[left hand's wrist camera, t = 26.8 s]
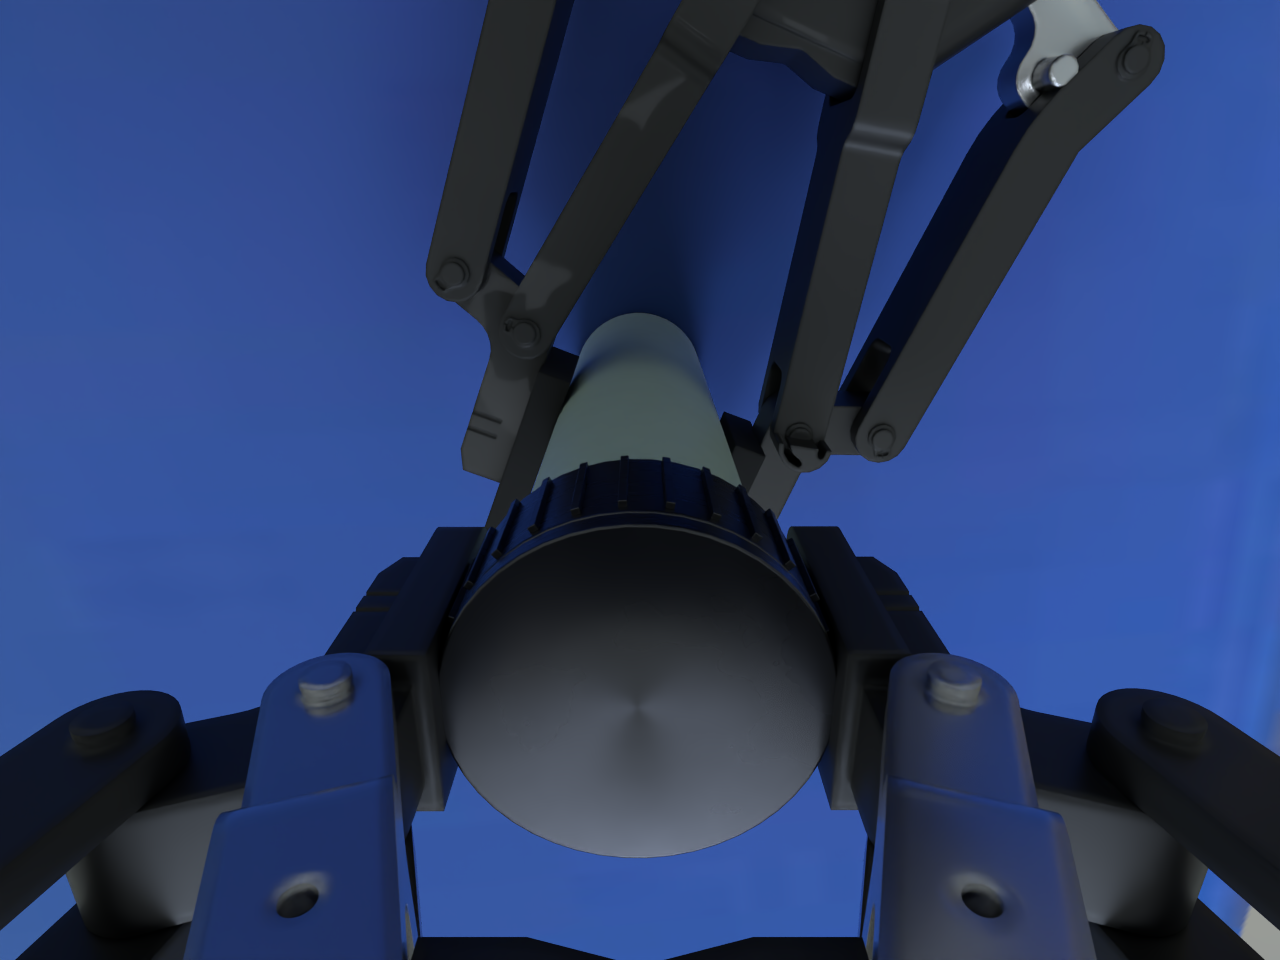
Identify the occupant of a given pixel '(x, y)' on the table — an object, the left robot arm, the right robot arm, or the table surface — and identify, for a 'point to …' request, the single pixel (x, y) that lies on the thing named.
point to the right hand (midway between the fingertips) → (566, 613)
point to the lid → (637, 662)
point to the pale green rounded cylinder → (638, 403)
